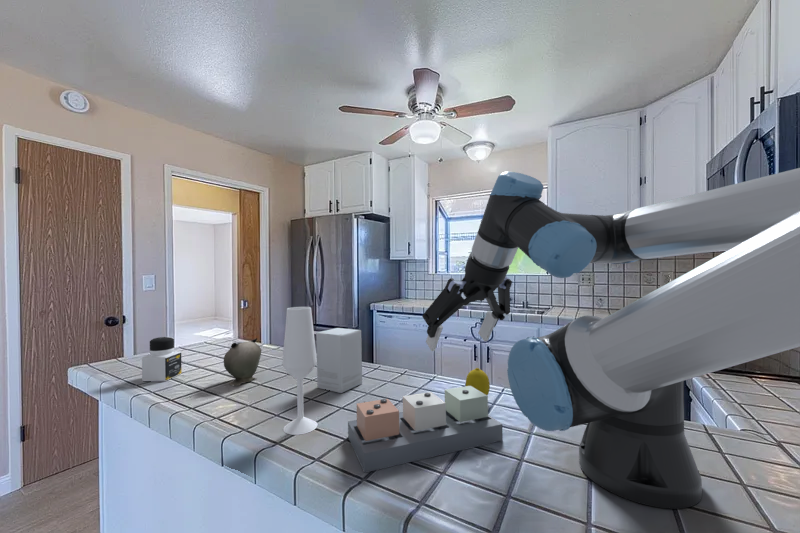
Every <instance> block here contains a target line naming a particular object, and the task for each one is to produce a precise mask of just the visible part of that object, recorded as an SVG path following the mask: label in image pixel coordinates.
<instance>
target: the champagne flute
mask: <svg viewBox="0 0 800 533" xmlns="http://www.w3.org/2000/svg"><path fill="white" fill-rule="evenodd" d="M312 313H313V312H312V307H311V306H292V307H287V308H286V315H285V316H286V318H285V327H284V328H285V329H284V339H283V350H282V351H283V352H282V363H281V364H282V367H283V369H284V370H285V371H286V373H287V374H288V375H289V376H291V377H292V378H294V379H296V396H297V399H296V400H297V404H296V405H297V408H296V409H297V417H296V418H295V419H292V421H290V422H288V423H287V424H286V425H284V427H283V429H282V430H283V432H284V433H285V434H287V435H293V436H294V435H295V436H296V435H304V434H308V433H310V432H313V431H314V430H315V429H317V427H318V422H317V421H315V420H314V419H311V418H309V417H305V416H304V378H306V377H308V375H310V373H311V372H312V371H313V370H314V368H315V367H316V366H317V347H316V338H315V331H314V330H315V329H314V323H313V322H314V320H313V315H312Z"/></svg>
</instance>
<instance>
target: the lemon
mask: <svg viewBox="0 0 800 533" xmlns="http://www.w3.org/2000/svg"><path fill="white" fill-rule="evenodd" d="M465 386H472V387H474V388H475V389H477V390H479V391H480V392H482V393H484V394H486V395H487V396H488V395H489V394H490V386H491V385H490V380H489V377H488V375H487V373H486V372H485V371H484V370H482V369H481V368H479V367H476V368H474V369H472V370H470V371H469V372H468V373H467V376H466V379H465Z"/></svg>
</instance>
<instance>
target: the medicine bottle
mask: <svg viewBox="0 0 800 533" xmlns="http://www.w3.org/2000/svg"><path fill="white" fill-rule="evenodd" d="M182 368H183V367H182V351H180V350H178V351H177V350H175V338H174V337H172V336H161V337H160V336H159V337H155V338H153V339H150V340H149V354H148V355H144V356H143V357H142V358H141V381H142V382H143V381H151V382H168V381H170V380H172V379H174V378H176V377H178V376H180V375H181V374H182V373H183V372H182ZM171 378H172V379H171ZM169 379H170V380H169ZM167 380H168V381H167Z"/></svg>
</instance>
